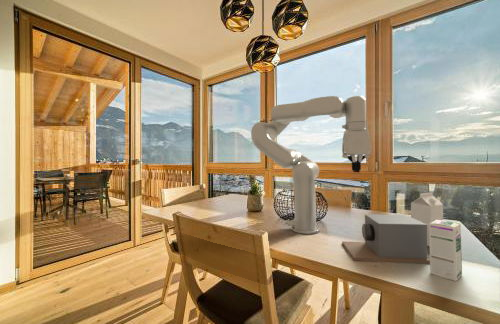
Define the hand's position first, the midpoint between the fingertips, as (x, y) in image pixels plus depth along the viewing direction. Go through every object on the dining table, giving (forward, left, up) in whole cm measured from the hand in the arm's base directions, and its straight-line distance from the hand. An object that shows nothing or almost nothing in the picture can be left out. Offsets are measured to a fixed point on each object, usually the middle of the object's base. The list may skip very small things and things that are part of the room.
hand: (356, 171), depth 92 cm
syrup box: (+14, -28, -27) cm, 42 cm away
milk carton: (+24, -4, -27) cm, 37 cm away
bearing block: (+3, -15, -27) cm, 31 cm away
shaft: (+7, -15, -23) cm, 28 cm away
